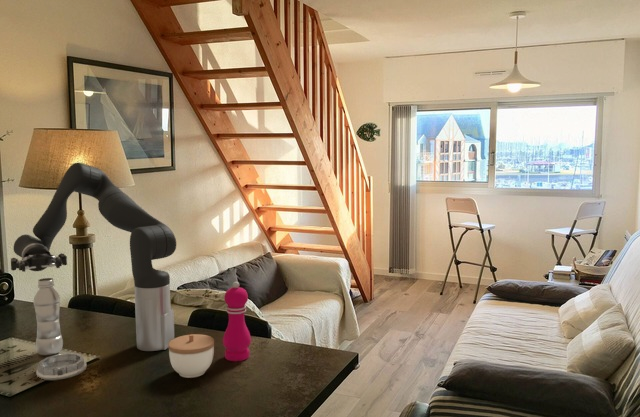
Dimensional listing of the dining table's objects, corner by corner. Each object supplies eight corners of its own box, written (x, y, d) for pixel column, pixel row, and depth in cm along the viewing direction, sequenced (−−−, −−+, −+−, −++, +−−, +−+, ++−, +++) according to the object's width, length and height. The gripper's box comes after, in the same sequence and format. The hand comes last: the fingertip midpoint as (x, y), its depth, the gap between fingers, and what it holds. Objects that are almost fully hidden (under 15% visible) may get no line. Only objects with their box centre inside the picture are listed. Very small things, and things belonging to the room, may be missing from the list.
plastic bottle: (36, 360, 136) (31, 283, 134) (36, 351, 142) (32, 278, 140) (63, 355, 139) (59, 280, 136) (63, 347, 145) (59, 275, 142)
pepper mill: (248, 362, 134) (247, 285, 132) (220, 362, 134) (218, 285, 132) (253, 351, 141) (252, 278, 139) (226, 351, 141) (224, 278, 139)
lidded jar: (198, 385, 121) (197, 345, 120) (159, 378, 125) (158, 339, 124) (223, 367, 131) (222, 330, 130) (186, 361, 135) (185, 325, 134)
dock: (95, 362, 134) (94, 353, 133) (69, 381, 123) (68, 371, 123) (55, 360, 135) (54, 351, 135) (25, 378, 124) (25, 368, 124)
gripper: (8, 246, 157) (11, 255, 143) (61, 242, 164) (68, 250, 151) (9, 271, 157) (12, 282, 144) (62, 266, 165) (70, 276, 151)
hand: (41, 266), depth 147 cm, fingers open, 8 cm apart
